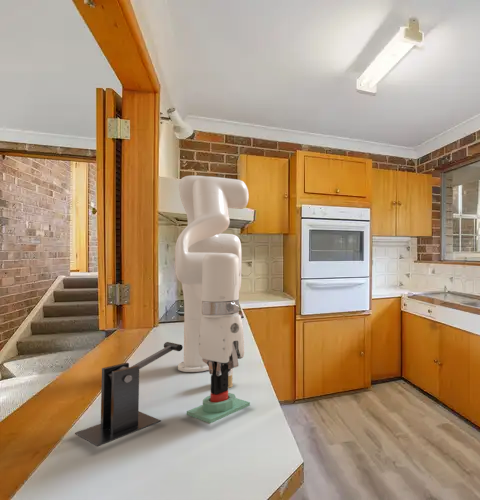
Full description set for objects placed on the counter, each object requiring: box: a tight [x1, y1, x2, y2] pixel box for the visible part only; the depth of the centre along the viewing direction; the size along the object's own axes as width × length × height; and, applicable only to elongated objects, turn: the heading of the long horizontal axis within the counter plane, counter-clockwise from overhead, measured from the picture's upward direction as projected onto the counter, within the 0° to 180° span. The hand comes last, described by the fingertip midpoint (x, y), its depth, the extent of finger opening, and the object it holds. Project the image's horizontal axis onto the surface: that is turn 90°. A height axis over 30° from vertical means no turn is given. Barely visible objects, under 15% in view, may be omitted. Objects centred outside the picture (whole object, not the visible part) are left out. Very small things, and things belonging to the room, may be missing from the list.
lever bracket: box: [74, 362, 162, 447], centre depth 69 cm, size 11×9×13 cm
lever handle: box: [108, 341, 184, 383], centre depth 73 cm, size 13×5×2 cm, turn 151°
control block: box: [186, 392, 251, 424], centre depth 77 cm, size 10×8×4 cm
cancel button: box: [209, 389, 229, 402], centre depth 77 cm, size 4×4×2 cm
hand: (219, 391), depth 77 cm, fingers closed
